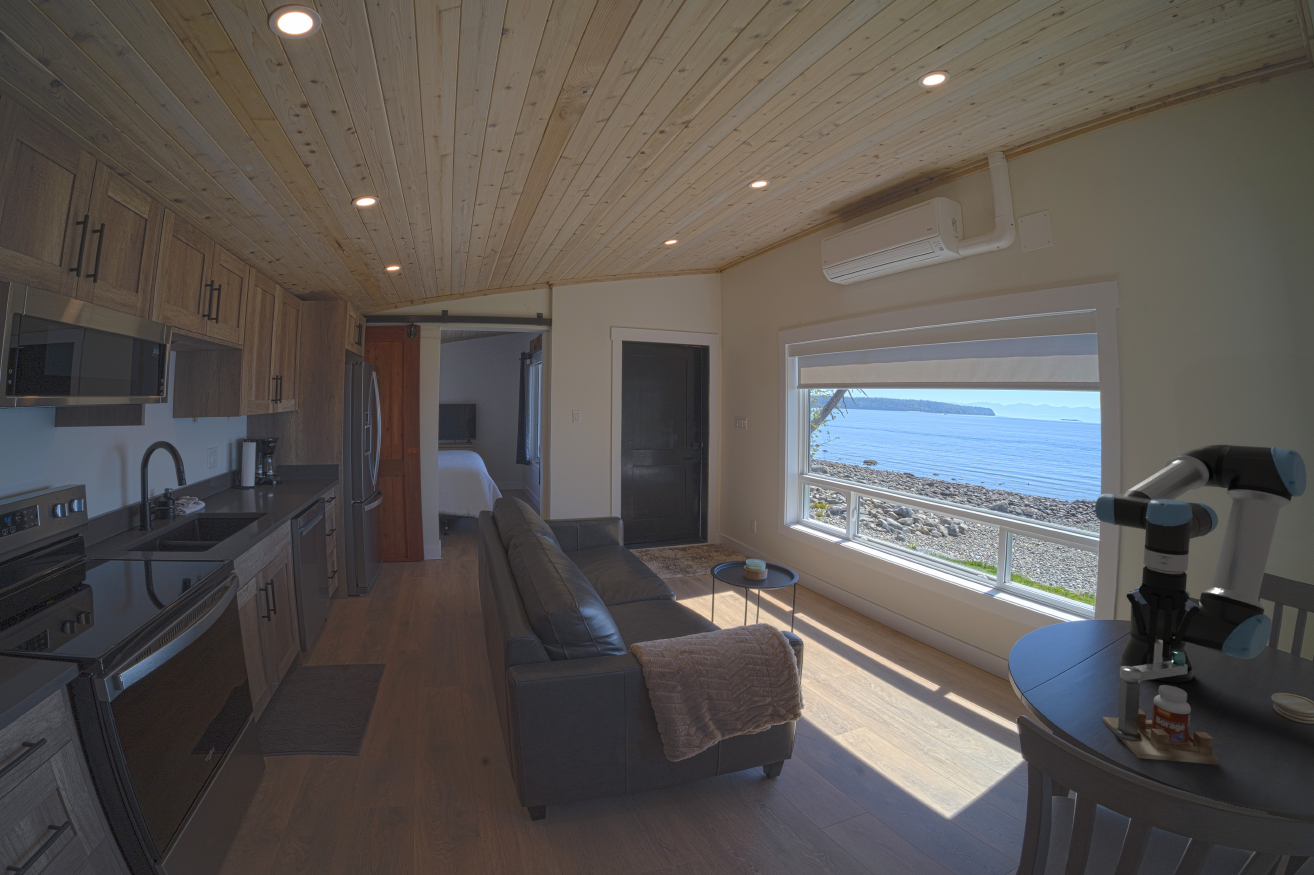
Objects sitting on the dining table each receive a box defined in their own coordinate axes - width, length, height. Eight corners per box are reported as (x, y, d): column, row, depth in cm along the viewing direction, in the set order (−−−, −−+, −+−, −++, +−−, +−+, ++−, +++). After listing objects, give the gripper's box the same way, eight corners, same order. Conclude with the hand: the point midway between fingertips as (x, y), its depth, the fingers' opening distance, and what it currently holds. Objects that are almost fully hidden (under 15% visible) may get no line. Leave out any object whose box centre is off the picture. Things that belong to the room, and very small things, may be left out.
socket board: (1173, 726, 137) (1174, 707, 136) (1218, 764, 123) (1219, 744, 123) (1102, 720, 139) (1103, 702, 139) (1138, 757, 126) (1139, 737, 125)
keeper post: (1133, 729, 134) (1135, 676, 133) (1146, 742, 129) (1149, 687, 128) (1109, 727, 135) (1111, 674, 134) (1121, 740, 130) (1124, 685, 129)
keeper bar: (1131, 684, 129) (1132, 664, 128) (1115, 676, 132) (1116, 656, 132) (1190, 675, 132) (1191, 655, 132) (1173, 667, 136) (1174, 648, 135)
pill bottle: (1150, 739, 130) (1153, 691, 129) (1152, 726, 135) (1154, 680, 134) (1188, 750, 126) (1191, 700, 125) (1188, 737, 131) (1191, 689, 130)
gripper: (1125, 566, 135) (1119, 665, 138) (1202, 579, 126) (1194, 685, 129) (1130, 559, 141) (1124, 654, 143) (1204, 571, 131) (1196, 672, 134)
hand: (1157, 669), depth 136 cm, fingers closed
